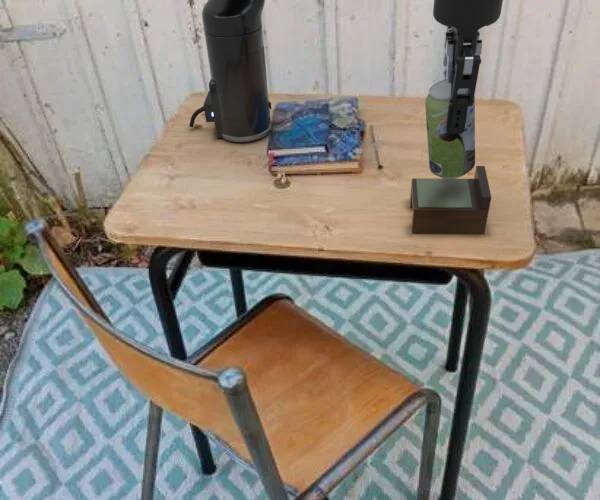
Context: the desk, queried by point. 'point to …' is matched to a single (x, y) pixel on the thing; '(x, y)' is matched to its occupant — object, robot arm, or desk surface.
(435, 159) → the beverage can
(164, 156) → the desk surface
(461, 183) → the miniature bed
